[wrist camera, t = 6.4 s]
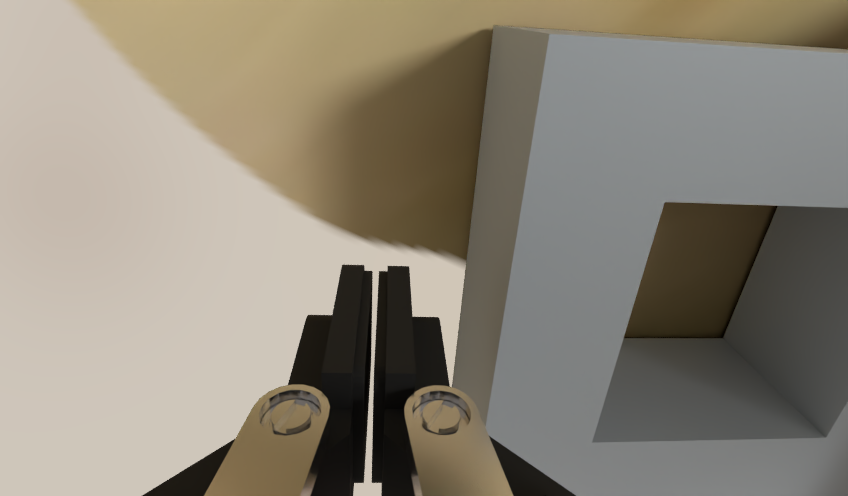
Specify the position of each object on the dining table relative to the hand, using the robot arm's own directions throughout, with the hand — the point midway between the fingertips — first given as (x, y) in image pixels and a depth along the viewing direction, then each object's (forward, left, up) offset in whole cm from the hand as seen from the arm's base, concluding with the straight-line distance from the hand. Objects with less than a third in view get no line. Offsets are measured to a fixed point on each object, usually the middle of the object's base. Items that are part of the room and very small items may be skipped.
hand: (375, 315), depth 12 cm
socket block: (-10, 0, -5) cm, 11 cm away
